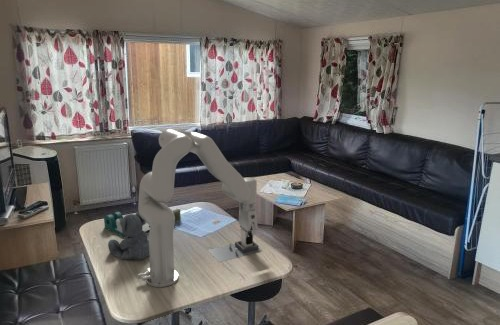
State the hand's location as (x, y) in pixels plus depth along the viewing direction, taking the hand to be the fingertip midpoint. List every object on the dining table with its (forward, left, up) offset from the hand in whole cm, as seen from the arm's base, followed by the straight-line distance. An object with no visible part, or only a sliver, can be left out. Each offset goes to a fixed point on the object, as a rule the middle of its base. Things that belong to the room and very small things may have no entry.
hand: (246, 241), depth 181 cm
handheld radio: (-28, +41, -5) cm, 50 cm away
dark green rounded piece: (-47, +46, -5) cm, 66 cm away
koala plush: (-47, +20, -5) cm, 51 cm away
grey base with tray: (-6, 0, -4) cm, 7 cm away
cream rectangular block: (0, 0, -2) cm, 2 cm away
